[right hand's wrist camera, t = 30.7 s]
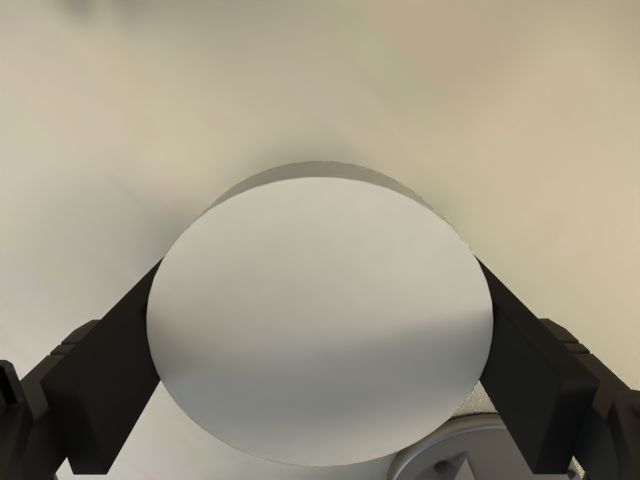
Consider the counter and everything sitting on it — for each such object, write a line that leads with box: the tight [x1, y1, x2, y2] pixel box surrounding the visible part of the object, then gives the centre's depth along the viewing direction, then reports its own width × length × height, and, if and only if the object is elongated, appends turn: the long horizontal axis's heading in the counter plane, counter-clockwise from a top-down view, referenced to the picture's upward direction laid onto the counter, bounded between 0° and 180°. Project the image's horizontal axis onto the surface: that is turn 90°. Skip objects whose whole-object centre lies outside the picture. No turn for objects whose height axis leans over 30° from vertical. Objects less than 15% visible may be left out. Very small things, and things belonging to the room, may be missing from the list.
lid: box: [146, 161, 493, 466], centre depth 11 cm, size 10×10×2 cm
